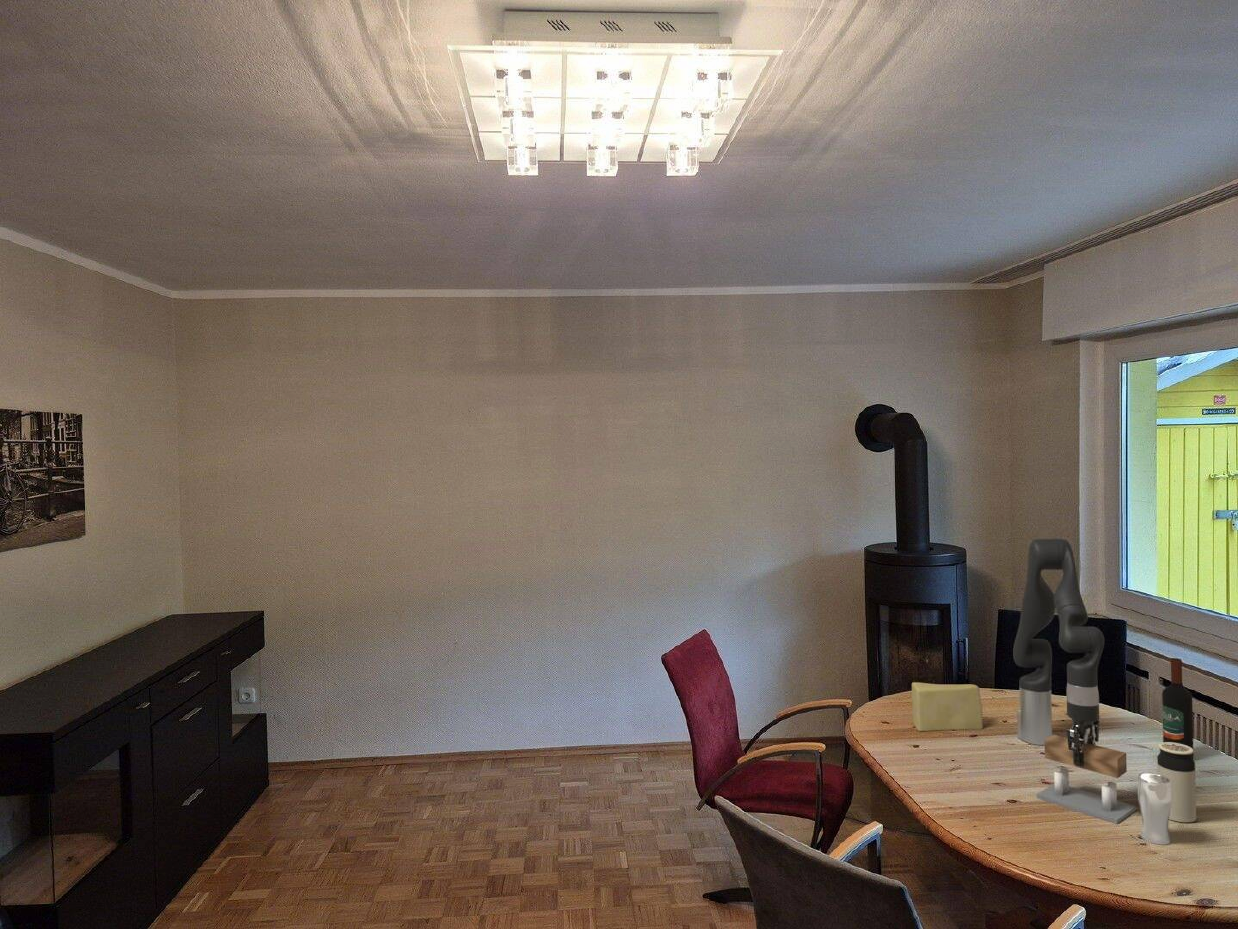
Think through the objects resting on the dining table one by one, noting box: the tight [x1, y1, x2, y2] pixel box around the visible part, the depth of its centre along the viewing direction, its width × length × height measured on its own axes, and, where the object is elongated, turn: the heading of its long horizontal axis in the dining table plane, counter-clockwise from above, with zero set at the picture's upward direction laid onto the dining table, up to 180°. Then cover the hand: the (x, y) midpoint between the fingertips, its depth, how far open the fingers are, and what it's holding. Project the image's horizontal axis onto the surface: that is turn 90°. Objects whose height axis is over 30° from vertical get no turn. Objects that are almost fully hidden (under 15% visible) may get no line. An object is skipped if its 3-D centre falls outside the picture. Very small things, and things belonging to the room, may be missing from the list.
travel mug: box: [1156, 741, 1197, 823], centre depth 202 cm, size 8×8×18 cm
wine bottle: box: [1161, 657, 1195, 758], centre depth 239 cm, size 8×8×30 cm
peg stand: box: [1036, 767, 1137, 825], centre depth 211 cm, size 20×12×7 cm, turn 36°
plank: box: [1044, 734, 1128, 779], centre depth 210 cm, size 18×6×5 cm, turn 38°
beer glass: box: [1137, 772, 1172, 846], centre depth 191 cm, size 7×7×15 cm
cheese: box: [911, 682, 983, 732], centre depth 270 cm, size 22×10×15 cm, turn 81°
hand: (1084, 762), depth 211 cm, fingers closed on plank, 6 cm apart
